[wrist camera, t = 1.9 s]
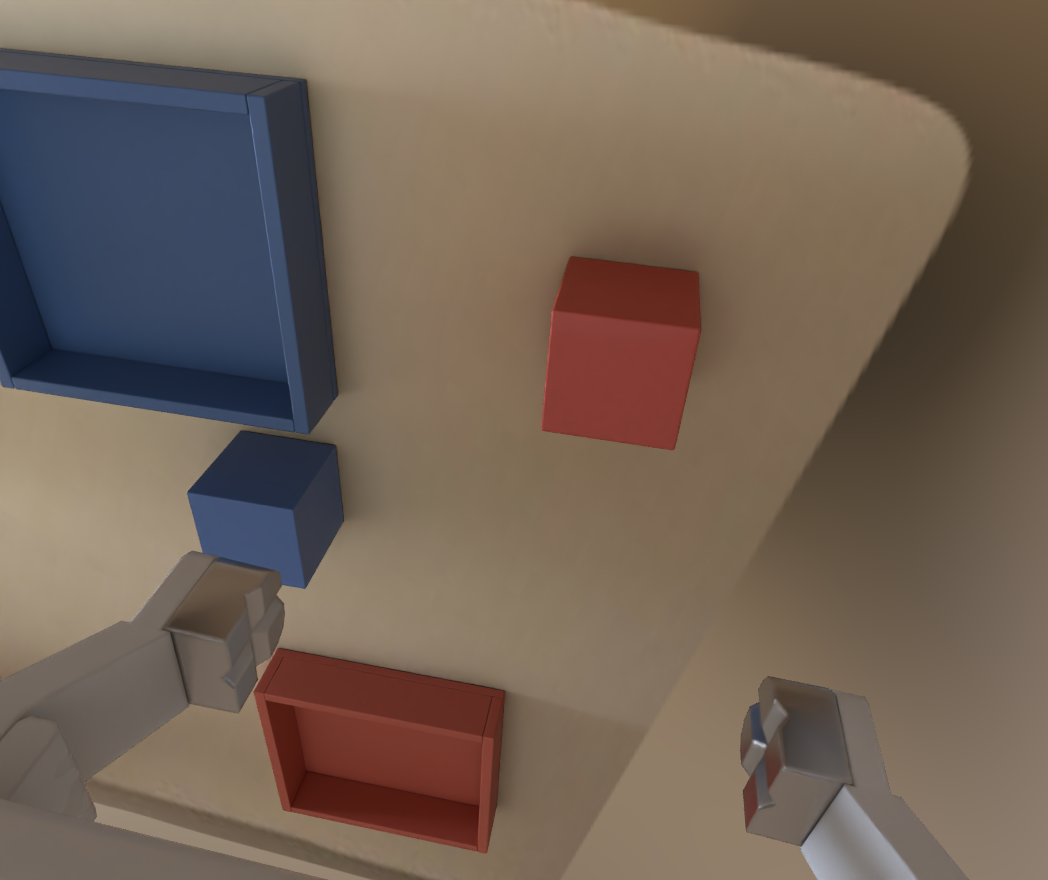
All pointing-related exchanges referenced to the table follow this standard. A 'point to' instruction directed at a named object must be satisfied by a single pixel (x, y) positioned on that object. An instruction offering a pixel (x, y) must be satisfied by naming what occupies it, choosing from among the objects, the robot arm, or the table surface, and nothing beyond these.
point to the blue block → (270, 504)
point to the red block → (621, 352)
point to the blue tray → (162, 240)
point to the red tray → (383, 747)
